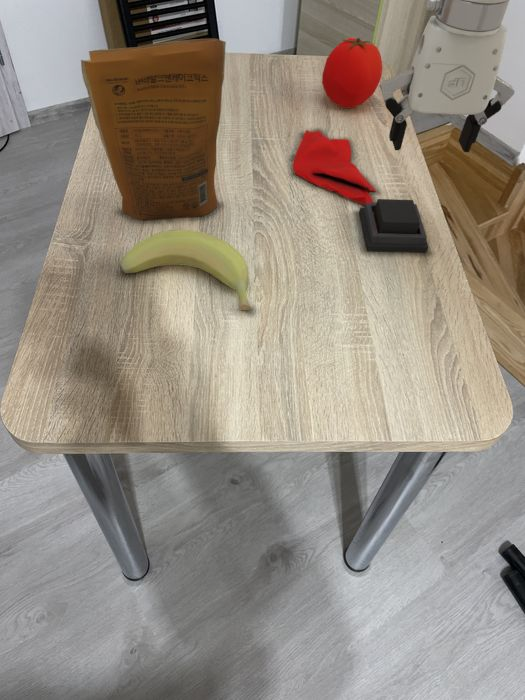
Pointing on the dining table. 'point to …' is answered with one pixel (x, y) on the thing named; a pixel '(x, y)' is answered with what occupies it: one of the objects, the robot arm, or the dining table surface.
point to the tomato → (352, 72)
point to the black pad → (396, 216)
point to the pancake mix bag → (160, 123)
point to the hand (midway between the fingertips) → (429, 146)
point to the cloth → (331, 166)
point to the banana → (191, 257)
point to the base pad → (390, 235)
